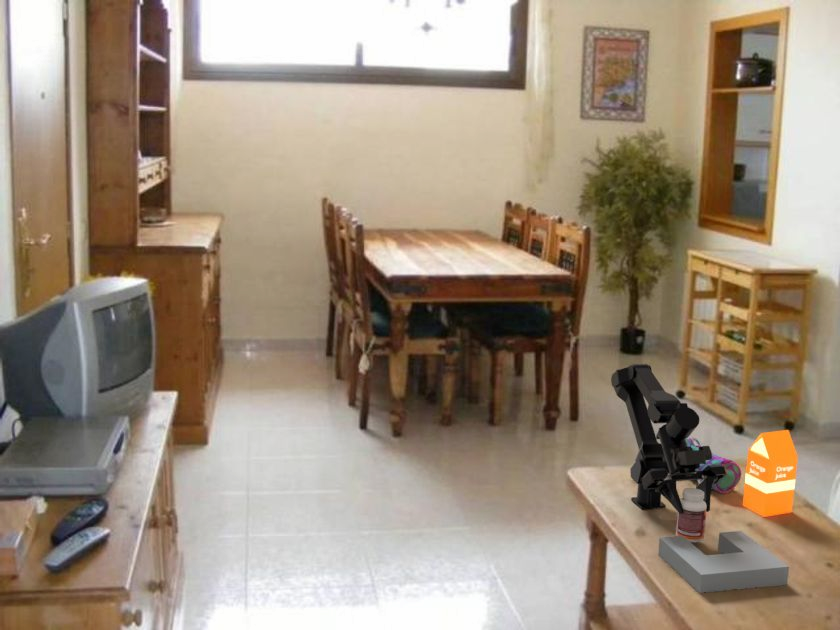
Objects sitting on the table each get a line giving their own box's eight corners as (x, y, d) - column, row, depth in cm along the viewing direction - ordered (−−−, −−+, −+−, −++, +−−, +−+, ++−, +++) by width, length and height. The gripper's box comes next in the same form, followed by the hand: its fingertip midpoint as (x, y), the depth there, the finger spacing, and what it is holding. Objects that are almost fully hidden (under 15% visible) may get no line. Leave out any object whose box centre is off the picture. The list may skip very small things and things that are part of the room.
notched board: (658, 554, 217) (659, 537, 216) (739, 547, 221) (741, 530, 221) (699, 593, 200) (701, 574, 199) (787, 584, 204) (789, 566, 204)
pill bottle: (708, 543, 221) (712, 496, 218) (681, 543, 220) (685, 497, 218) (697, 531, 227) (701, 486, 224) (671, 532, 226) (675, 486, 224)
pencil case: (668, 469, 270) (671, 435, 268) (696, 466, 273) (699, 433, 271) (712, 497, 251) (715, 461, 249) (742, 494, 253) (745, 458, 251)
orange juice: (792, 512, 242) (800, 434, 238) (763, 517, 239) (772, 438, 235) (769, 500, 249) (777, 424, 245) (741, 505, 246) (749, 428, 242)
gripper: (651, 435, 220) (671, 501, 212) (727, 431, 224) (749, 495, 216) (633, 456, 229) (651, 520, 221) (706, 451, 233) (726, 514, 225)
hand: (695, 512), depth 221 cm, fingers closed on pill bottle, 6 cm apart
